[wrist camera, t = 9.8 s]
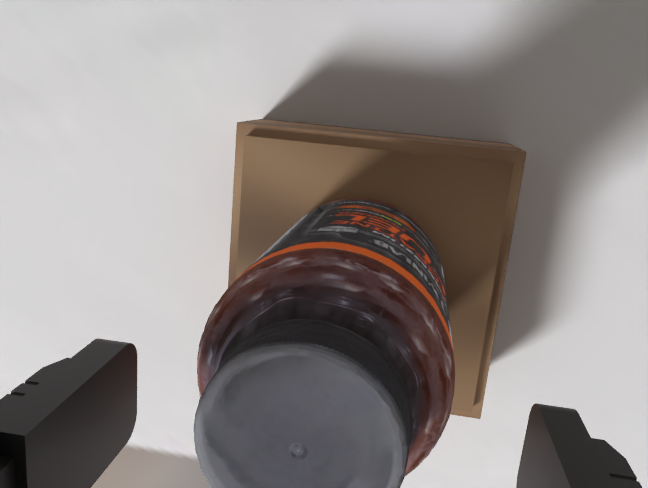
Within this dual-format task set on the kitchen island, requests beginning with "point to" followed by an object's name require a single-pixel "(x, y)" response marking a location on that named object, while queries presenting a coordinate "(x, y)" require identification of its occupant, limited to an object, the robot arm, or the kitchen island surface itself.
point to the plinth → (402, 192)
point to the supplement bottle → (328, 356)
